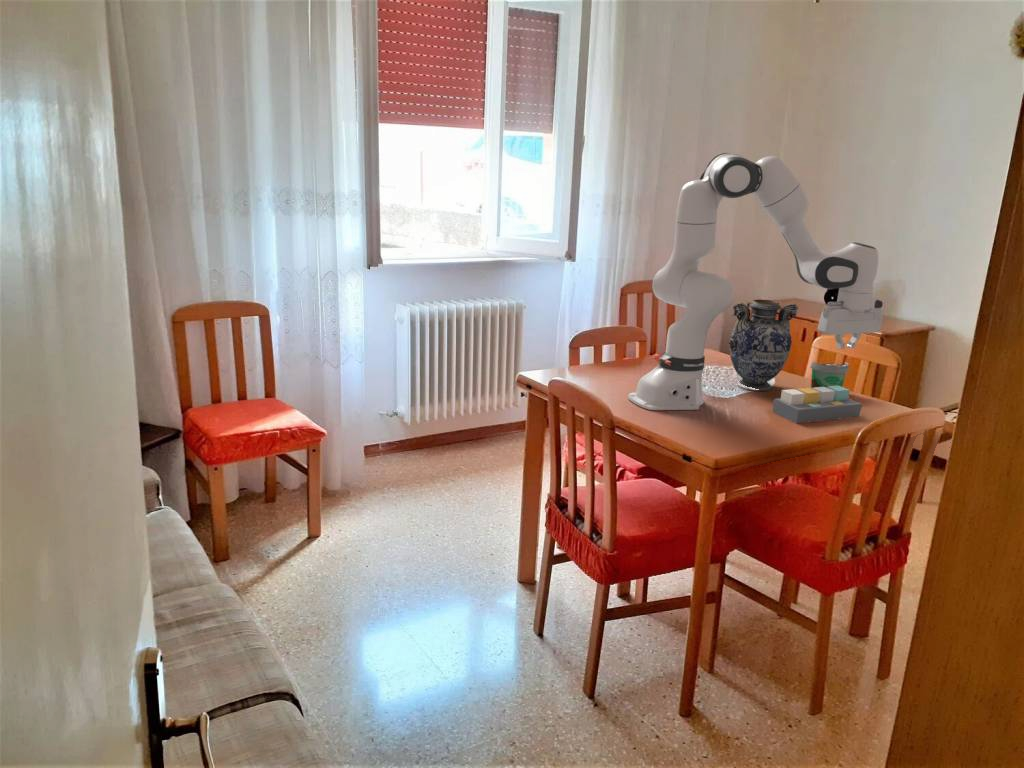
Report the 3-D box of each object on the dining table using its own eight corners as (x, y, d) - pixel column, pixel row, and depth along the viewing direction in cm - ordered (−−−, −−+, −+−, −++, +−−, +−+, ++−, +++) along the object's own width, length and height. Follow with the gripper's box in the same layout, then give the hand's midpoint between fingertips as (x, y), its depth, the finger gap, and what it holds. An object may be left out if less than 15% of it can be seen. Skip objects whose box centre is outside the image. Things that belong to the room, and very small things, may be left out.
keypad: (796, 423, 209) (798, 409, 208) (772, 411, 218) (774, 398, 217) (859, 416, 217) (862, 403, 216) (834, 406, 226) (836, 392, 225)
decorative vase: (734, 394, 232) (746, 305, 225) (711, 378, 250) (722, 295, 242) (798, 395, 235) (813, 307, 227) (771, 379, 253) (784, 297, 245)
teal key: (835, 402, 218) (838, 390, 217) (825, 397, 222) (826, 386, 221) (847, 401, 220) (849, 389, 219) (836, 396, 224) (838, 385, 223)
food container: (816, 397, 234) (822, 366, 231) (806, 391, 240) (811, 361, 237) (852, 397, 236) (858, 366, 233) (841, 391, 242) (847, 361, 239)
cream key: (790, 406, 212) (792, 394, 211) (780, 401, 216) (781, 390, 215) (802, 405, 214) (804, 393, 213) (792, 400, 218) (794, 389, 217)
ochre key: (805, 404, 214) (807, 393, 213) (795, 400, 218) (797, 388, 217) (818, 403, 216) (820, 392, 215) (807, 399, 220) (809, 387, 219)
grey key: (821, 403, 216) (823, 392, 215) (810, 398, 220) (812, 387, 219) (833, 402, 218) (835, 391, 217) (822, 397, 222) (824, 386, 221)
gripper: (833, 304, 206) (825, 352, 210) (889, 302, 213) (880, 349, 217) (817, 299, 212) (809, 347, 216) (872, 298, 219) (863, 344, 223)
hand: (845, 348), depth 216 cm, fingers open, 3 cm apart
